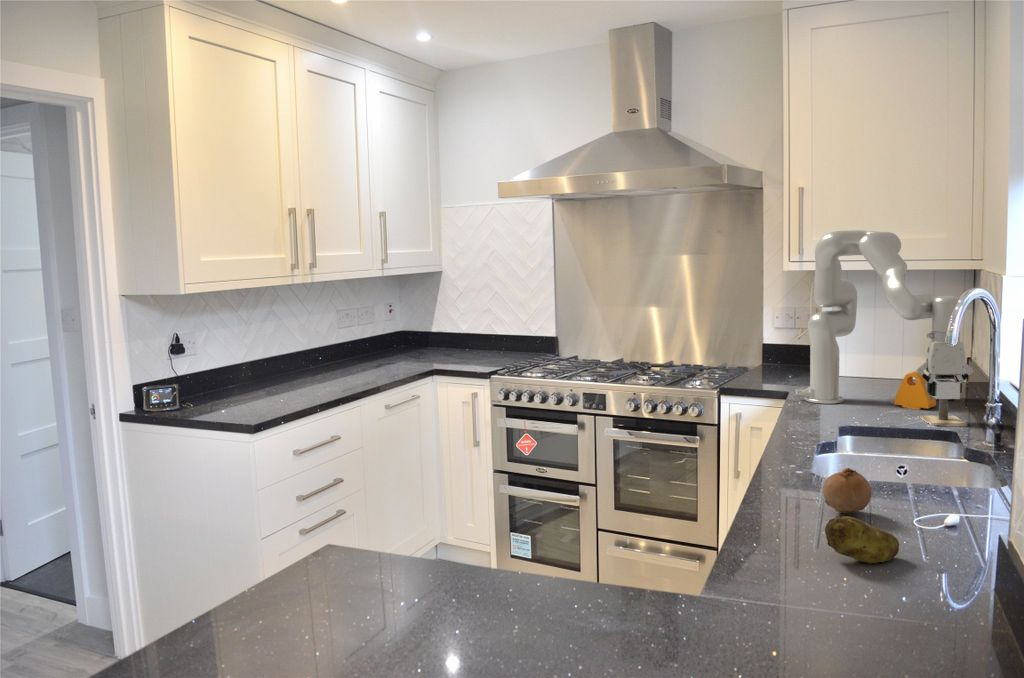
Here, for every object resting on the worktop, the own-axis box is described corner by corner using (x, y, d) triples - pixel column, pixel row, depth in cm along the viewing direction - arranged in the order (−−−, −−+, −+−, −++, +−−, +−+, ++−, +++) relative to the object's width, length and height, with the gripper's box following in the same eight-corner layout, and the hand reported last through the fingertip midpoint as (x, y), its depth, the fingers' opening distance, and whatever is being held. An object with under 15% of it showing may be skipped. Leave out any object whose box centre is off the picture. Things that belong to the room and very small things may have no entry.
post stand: (930, 426, 239) (932, 390, 238) (920, 418, 249) (921, 384, 248) (967, 426, 237) (968, 390, 236) (954, 418, 247) (955, 384, 246)
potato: (905, 572, 138) (907, 527, 137) (826, 566, 141) (827, 523, 141) (896, 553, 146) (897, 511, 145) (821, 549, 149) (822, 508, 148)
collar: (936, 399, 239) (936, 382, 239) (929, 394, 246) (929, 379, 245) (959, 398, 238) (960, 382, 238) (951, 394, 245) (952, 378, 244)
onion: (868, 524, 161) (869, 476, 160) (819, 517, 166) (820, 471, 165) (873, 509, 169) (874, 464, 168) (826, 504, 174) (826, 459, 173)
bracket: (936, 407, 264) (937, 371, 263) (928, 411, 259) (929, 374, 258) (903, 403, 272) (904, 368, 271) (894, 406, 267) (895, 371, 266)
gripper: (918, 339, 238) (917, 397, 240) (981, 338, 235) (980, 397, 237) (911, 336, 245) (909, 393, 247) (972, 335, 242) (970, 392, 244)
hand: (944, 394), depth 242 cm, fingers closed on collar, 6 cm apart
